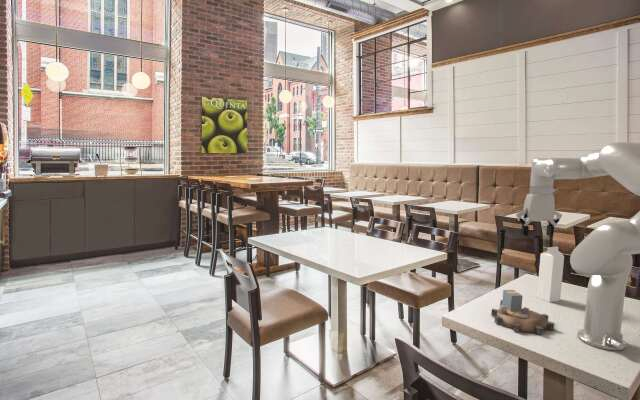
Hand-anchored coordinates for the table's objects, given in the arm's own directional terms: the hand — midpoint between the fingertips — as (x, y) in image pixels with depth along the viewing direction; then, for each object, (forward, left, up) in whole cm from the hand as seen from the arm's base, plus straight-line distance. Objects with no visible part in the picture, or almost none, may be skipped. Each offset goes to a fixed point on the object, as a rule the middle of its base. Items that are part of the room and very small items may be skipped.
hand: (537, 235), depth 149 cm
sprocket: (-14, +12, -28) cm, 34 cm away
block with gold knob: (-2, +12, -28) cm, 31 cm away
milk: (+8, -12, -28) cm, 32 cm away
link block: (-7, +12, -26) cm, 29 cm away
